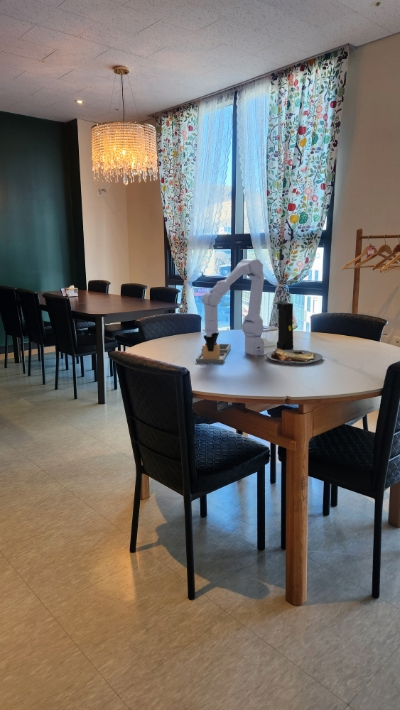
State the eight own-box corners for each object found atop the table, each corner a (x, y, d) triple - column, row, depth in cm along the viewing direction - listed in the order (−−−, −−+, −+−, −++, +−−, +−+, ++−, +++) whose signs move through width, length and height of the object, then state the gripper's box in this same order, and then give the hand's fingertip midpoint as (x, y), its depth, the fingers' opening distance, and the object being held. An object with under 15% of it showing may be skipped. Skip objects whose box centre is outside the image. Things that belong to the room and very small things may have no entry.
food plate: (257, 362, 208) (257, 354, 207) (275, 352, 228) (275, 345, 227) (314, 369, 196) (315, 361, 196) (327, 358, 217) (328, 350, 216)
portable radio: (295, 349, 232) (296, 298, 227) (284, 351, 230) (285, 299, 225) (286, 347, 239) (287, 297, 234) (276, 348, 237) (276, 297, 232)
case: (206, 350, 236) (206, 343, 236) (230, 350, 234) (230, 344, 234) (201, 356, 223) (201, 349, 222) (227, 356, 221) (227, 349, 220)
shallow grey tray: (201, 356, 223) (201, 351, 222) (227, 356, 221) (227, 352, 220) (195, 363, 209) (195, 359, 208) (223, 364, 206) (223, 359, 206)
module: (204, 356, 217) (204, 342, 216) (219, 356, 216) (219, 342, 214) (202, 358, 212) (202, 344, 211) (218, 359, 211) (218, 344, 210)
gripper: (204, 317, 218) (205, 346, 221) (199, 322, 204) (200, 353, 207) (220, 317, 217) (220, 346, 220) (215, 322, 203) (216, 353, 206)
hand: (211, 349), depth 213 cm, fingers closed on module, 5 cm apart
